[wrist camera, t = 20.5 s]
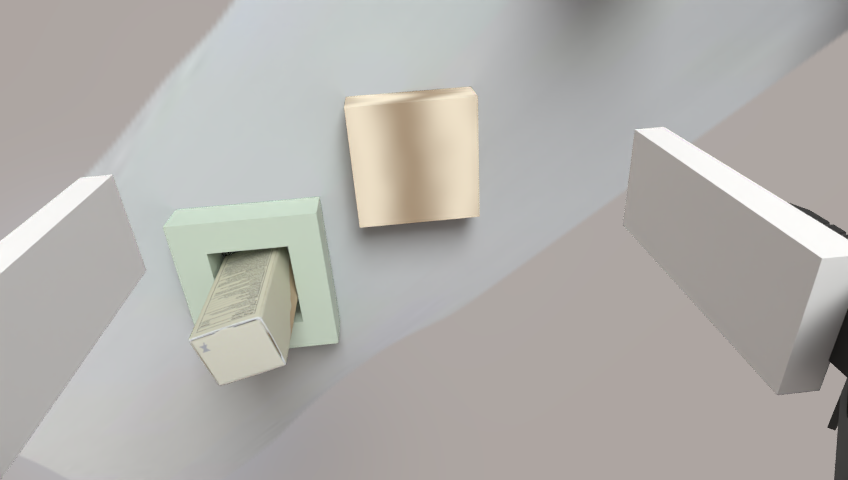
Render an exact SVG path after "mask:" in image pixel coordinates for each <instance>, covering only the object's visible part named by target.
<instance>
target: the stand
mask: <svg viewBox="0 0 848 480" xmlns="http://www.w3.org/2000/svg"><path fill="white" fill-rule="evenodd" d="M344 110H345V118H346V126H347V133H348V141H349V149H350V156H351V164H352V172H353V179H354V187H355V195H356V202H357V210H358V218H359V225H360V228H362V227H372V226H383V225H394V224H405V223H416V222H426V221H437V220H448V219H459V218H469V217H479V146H478V96H477V95H476V93H475V92H474V91H473V89H472V88H471V87H461V88H448V89H436V90H424V91H412V92H399V93H387V94H375V95H363V96H350V97H346V99H345V105H344Z"/></svg>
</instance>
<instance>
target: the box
mask: <svg viewBox="0 0 848 480" xmlns="http://www.w3.org/2000/svg"><path fill="white" fill-rule="evenodd" d="M297 300H298V294H297V289H296V284H295V279H294V274H293V269H292V264H291V259H290V254H289V252H288V250H287V248H286V247H276V248H265V249H255V250H244V251H239V252H237V253H234V254H231V255H228V256H226V257H225V258H224V260H223V262H222V265H221V267H220V269H219V271H218V274H217V276H216V278H215V281H214V283H213V285H212V287H211V290H210V292H209V294H208V297H207V299H206V301H205V304H204V306H203V308H202V310H201V313H200V315H199V317H198V320H197V322H196V324H195V326H194V329H193V331H192V333H191V335H190V338H189V343H190V344H191V346H192V347H193V349H194V350H195V352H196V354H197V355H198V357H199V358H200V359H201V361H202V362H203V364H204V365H205V367H206V368H207V370H208V371H209V373H210V374H211V375H212V377H213V378H214V379H215V381H216V382H217V384H218V385H220V386H222V385H225V384H229V383H232V382H235V381H239V380H242V379H245V378H248V377H252V376H255V375H258V374H261V373H264V372H267V371H270V370H273V369H276V368H279V367H282V366H285V365H286V362H287V356H288V351H289V345H290V340H291V334H292V328H293V323H294V317H295V311H296V305H297Z"/></svg>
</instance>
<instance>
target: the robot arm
mask: <svg viewBox="0 0 848 480" xmlns="http://www.w3.org/2000/svg"><path fill="white" fill-rule="evenodd" d="M623 226H624V227H625V228H626V229H627V230H628V231H629V233H630V234H631V235H632V236H633V237H634V238H635V239H636V240H637V241H638V242H639V244H640V245H641V246H642V247H643V248H644V249H645V250H646V251H647V252H648V253H649V255H650V256H651V257H652V258H653V259H654V260H655V261H656V262H657V263H658V264H659V266H660V267H661V268H662V269H663V270H664V271H665V272H666V273H667V274H668V275H669V277H670V278H671V279H672V280H673V281H674V282H675V283H676V284H677V285H678V286H679V288H680V289H681V290H682V291H683V292H684V293H685V294H686V295H687V296H688V297H689V299H690V300H691V301H692V302H693V303H694V304H695V305H696V306H697V307H698V308H699V310H700V311H701V312H702V313H703V314H704V315H705V316H706V317H707V318H708V319H709V321H710V322H711V323H712V324H713V325H714V326H715V327H716V328H717V329H718V330H719V331H720V333H721V334H722V335H723V336H724V337H725V338H726V339H727V340H728V341H729V343H730V344H731V345H732V346H733V347H734V348H735V349H736V350H737V351H738V352H739V353H740V355H741V356H742V357H743V358H744V359H745V360H746V361H747V362H748V363H749V364H750V366H751V367H752V368H753V369H754V370H755V371H756V372H757V373H758V374H759V375H760V377H761V378H762V379H763V380H764V381H765V382H766V383H767V384H768V385H769V387H770V388H771V389H772V390H773V391H774V392H775V393H776V394H777V395H783V394H792V393H801V392H810V391H819V390H820V388H821V385H822V383H823V380H824V377H825V374H826V372H827V369H828V366H829V364H830V362H831V363H832V364H833V365H834V366H835V367H836V368H838V369H839V370H840V371H841V372H842V373H843V374H844V375H845V376H846V377H847V380H846V383H845V385H844V388H843V390H842V393H841V395H840V397H839V400H838V402H837V405H836V407H835V410H834V412H833V415H832V417H831V420H830V422H829V425H828V428H830V429H833V430H836V428H837V426H838V435H837V450H836V464H835V477H834V480H848V235H846V232H845V231H843V230H842V229H840V228H838V227H837V226H835V225H830V224H829V222H828V221H827V220H825V219H823V218H822V217H820V216H818V215H817V214H815V213H813V212H812V211H810V210H808V209H805V208H801V207H799V206H796V205H793V204H791V203H788V202H786V201H784V200H782V199H781V198H779V197H778V196H776V195H774V194H773V193H771V192H769V191H768V190H766V189H764V188H763V187H761V186H759V185H758V184H756V183H755V182H753V181H751V180H750V179H748V178H746V177H745V176H743V175H741V174H739V173H738V172H737V171H735V170H733V169H732V168H730V167H728V166H727V165H725V164H724V163H722V162H720V161H719V160H717V159H715V158H713V157H712V156H710V155H709V154H707V153H706V152H704V151H702V150H701V149H699V148H697V147H696V146H694V145H692V144H691V143H689V142H688V141H686V140H684V139H683V138H681V137H679V136H678V135H676V134H675V133H673V132H671V131H670V130H668V129H666V128H665V127H659V128H647V129H636V130H635V133H634V141H633V149H632V157H631V165H630V173H629V181H628V189H627V197H626V205H625V213H624V221H623ZM145 272H146V268H145V265H144V262H143V259H142V257H141V254H140V251H139V248H138V245H137V242H136V240H135V237H134V234H133V231H132V228H131V225H130V223H129V220H128V217H127V214H126V211H125V208H124V206H123V203H122V200H121V197H120V194H119V191H118V189H117V186H116V183H115V180H114V177H113V175H104V176H93V177H81V178H79V179H78V180H77V181H76V182H74V183H73V184H72V185H71V186H70V187H68V188H67V189H66V190H64V191H63V192H62V193H61V194H59V195H58V196H57V197H56V198H54V199H53V200H52V201H51V202H49V203H48V204H47V205H45V206H44V207H43V208H42V209H40V210H39V211H38V212H37V213H35V214H34V215H33V216H32V217H30V218H29V219H28V220H27V221H25V222H24V223H23V224H22V225H20V226H19V227H18V228H17V229H15V230H14V231H13V232H11V233H10V234H9V235H8V236H6V237H5V238H4V239H3V240H1V241H0V480H1V479H2V478H3V476H4V475H5V474H6V472H7V471H8V469H9V468H10V466H11V465H12V463H13V462H14V460H15V459H16V458H17V456H18V455H19V453H20V452H21V450H22V449H23V448H24V446H25V445H26V443H27V442H28V440H29V439H30V438H31V436H32V435H33V433H34V432H35V430H36V429H37V427H38V426H39V425H40V423H41V422H42V420H43V419H44V417H45V416H46V414H47V413H48V412H49V410H50V409H51V407H52V406H53V404H54V403H55V401H56V400H57V399H58V397H59V396H60V394H61V393H62V391H63V390H64V389H65V387H66V386H67V384H68V383H69V381H70V380H71V378H72V377H73V376H74V374H75V373H76V371H77V370H78V368H79V367H80V365H81V364H82V363H83V361H84V360H85V358H86V357H87V355H88V354H89V353H90V351H91V350H92V348H93V347H94V345H95V344H96V342H97V341H98V340H99V338H100V337H101V335H102V334H103V332H104V331H105V329H106V328H107V327H108V325H109V324H110V322H111V321H112V319H113V318H114V316H115V315H116V314H117V312H118V311H119V309H120V308H121V306H122V305H123V304H124V302H125V301H126V299H127V298H128V296H129V295H130V293H131V292H132V291H133V289H134V288H135V286H136V285H137V283H138V282H139V280H140V279H141V278H142V276H143V275H144V273H145Z"/></svg>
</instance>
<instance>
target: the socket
mask: <svg viewBox="0 0 848 480" xmlns="http://www.w3.org/2000/svg"><path fill="white" fill-rule="evenodd" d="M163 229H164V233H165V236H166V239H167V242H168V245H169V248H170V251H171V254H172V257H173V260H174V264H175V267H176V270H177V273H178V276H179V279H180V282H181V285H182V288H183V292H184V295H185V298H186V301H187V304H188V307H189V310H190V313H191V316H192V319H193V323H194V326H195V324H196V322H197V320H198V317H199V315H200V313H201V310H202V308H203V306H204V304H205V301H206V299H207V297H208V294H209V292H210V290H211V287H212V285H213V283H214V281H215V278H216V276H217V274H218V271H219V269H220V267H221V265H222V262H223V257H222V253H223V252H233V251H244V250H255V249H265V248H276V247H287V246H288V249H289V254H290V259H291V264H292V269H293V274H294V279H295V284H296V289H297V294H298V298H299V302H297V305H296V311H295V317H294V323H293V328H292V334H291V340H290V345H289V348H296V347H305V346H315V345H325V344H335V343H338V342H339V330H340V317H339V311H338V305H337V299H336V293H335V287H334V281H333V275H332V269H331V263H330V257H329V251H328V245H327V239H326V232H325V226H324V220H323V214H322V208H321V202H320V197H311V198H300V199H289V200H278V201H267V202H256V203H245V204H233V205H222V206H211V207H200V208H189V209H178V210H175V211H174V213H173V214H172V215H171V217H170V218H169V220H168V221H167V222H166V224H165V225H164V226H163Z"/></svg>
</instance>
